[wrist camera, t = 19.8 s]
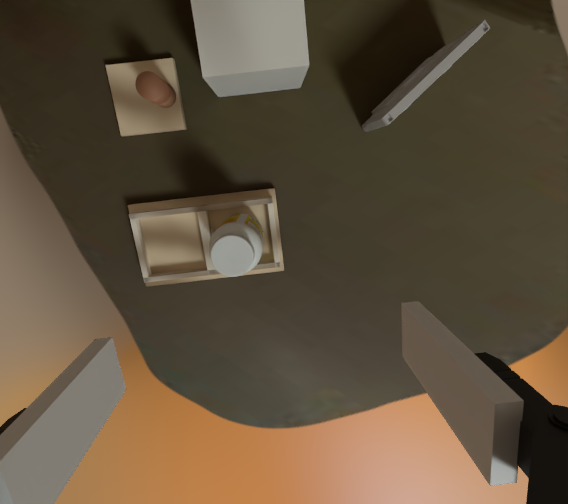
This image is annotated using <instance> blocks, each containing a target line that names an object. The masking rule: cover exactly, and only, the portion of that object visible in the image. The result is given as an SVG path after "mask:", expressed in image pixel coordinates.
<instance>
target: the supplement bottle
mask: <svg viewBox="0 0 568 504" xmlns="http://www.w3.org/2000/svg"><path fill="white" fill-rule="evenodd" d="M263 241H264V232H263V228H262V226H261V224H260V223H259V222H258V220H257V219H255V218H254V217H252V216H250V215H248V214H243V213H240V214H234V215H232V216H230V217H228V218H227V219H225V220H224V221H223V223H222V224H221V225H220V226H219V227H218V228H217V229H216V231H215V232H214V233H213V235H212V236H211V239H210V242H209V254H210V257H211V262H212V264H213V266H214V268H215V269H216V270H217V271H218V272H219V273H221V274H223V275H225V276H229V277H236V276H240V275H242V274H244V273H246V272H248V271H250V270H251V269H253V268H254V267H255V266H256V265H257V263H258V262H259V260H260V258H261V255H262V249H263Z"/></svg>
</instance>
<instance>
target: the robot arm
mask: <svg viewBox="0 0 568 504" xmlns="http://www.w3.org/2000/svg"><path fill="white" fill-rule="evenodd" d="M402 351H403V358H404V359H405V361H406V362H407V364H408V365H409V367H410V368H411V370H412V371H413V373H414V374H415V376H416V377H417V379H418V380H419V382H420V383H421V385H422V386H423V388H424V389H425V390H426V392H427V393H428V395H429V396H430V398H431V399H432V401H433V402H434V404H435V405H436V407H437V408H438V410H439V411H440V413H441V414H442V415H443V417H444V418H445V420H446V421H447V423H448V424H449V426H450V427H451V429H452V430H453V432H454V433H455V435H456V436H457V438H458V439H459V441H460V442H461V444H462V445H463V446H464V448H465V449H466V451H467V452H468V454H469V455H470V457H471V458H472V460H473V461H474V463H475V464H476V466H477V467H478V469H479V470H480V472H481V473H482V475H483V476H484V477H485V479H486V480H487V482H488V483H489V485H490V486H493V485H501V484H509V483H516V482H517V473H518V466H519V467H520V468H521V469H522V471H523V472H524V473H525V474H526V475H527V476H528V478H529V483H528V493H527V502H526V504H568V407H564V406H559V405H552V404H551V403H550V402H549V401H548V400H546V399H545V398H544V397H543V396H542V395H541V394H540V393H538V392H537V391H536V390H535V389H534V388H533V387H531V386H530V385H529V384H528V383H527V382H526V381H524V380H523V379H521V378H520V376H519V375H517V374H516V373H515V372H514V371H511V369H510V368H509V367H508V366H507V365H506V364H505V363H504V362H502V361H501V360H500V359H498V358H496V357H494V356H492V355H490V354H488V353H486V352H484V353H476V354H474V353H473V352H472V351H471V350H469V349H468V348H467V347H466V346H465V345H464V344H463V343H462V342H461V341H460V340H459V339H458V338H457V337H456V336H455V335H454V334H453V333H451V332H450V331H449V330H448V329H447V328H446V327H445V326H444V325H443V324H442V323H441V322H440V321H439V320H438V319H437V318H436V317H434V316H433V315H432V314H431V313H430V312H429V311H428V310H427V309H426V308H425V307H424V306H423V305H422V304H421V303H420V302H419V301H415V302H407V303H402ZM125 391H126V387H125V383H124V379H123V375H122V372H121V368H120V364H119V360H118V356H117V353H116V349H115V345H114V342H113V338H112V337H109V338H100V339H95V340H94V341H93V342H92V343H91V344H90V345H89V346H88V347H87V348H86V349H85V350H84V351H83V352H82V353H81V354H80V355H79V356H78V357H77V358H76V359H75V360H74V361H73V362H72V363H71V364H70V365H69V366H68V367H67V368H66V369H65V370H64V371H63V372H62V373H61V374H60V375H59V376H58V377H57V378H56V379H55V380H54V382H52V383H51V384H50V386H49V387H47V388H46V390H44V391H43V392H42V394H41V395H40V396H39V397H38V398H37V399H36V400H35V401H34V402H33V403H32V404H31V405H30V406H29V407H28V408H24V409H23V410H21V411H20V412H18V413H17V414H15V415H14V416H12V417H11V418H10V419H8V420H7V421H6V422H5V423H4V424H3V425H2V426H1V427H0V504H54V503H55V501H56V500H57V498H58V497H59V495H60V493H61V492H62V490H63V489H64V487H65V486H66V484H67V482H68V481H69V479H70V478H71V476H72V475H73V473H74V471H75V470H76V468H77V467H78V465H79V463H80V462H81V460H82V459H83V457H84V456H85V454H86V452H87V451H88V449H89V448H90V446H91V445H92V443H93V441H94V440H95V438H96V437H97V435H98V433H99V432H100V430H101V429H102V427H103V426H104V424H105V422H106V421H107V419H108V418H109V416H110V415H111V413H112V411H113V410H114V408H115V407H116V405H117V404H118V402H119V400H120V399H121V397H122V396H123V394H124V392H125Z"/></svg>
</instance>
